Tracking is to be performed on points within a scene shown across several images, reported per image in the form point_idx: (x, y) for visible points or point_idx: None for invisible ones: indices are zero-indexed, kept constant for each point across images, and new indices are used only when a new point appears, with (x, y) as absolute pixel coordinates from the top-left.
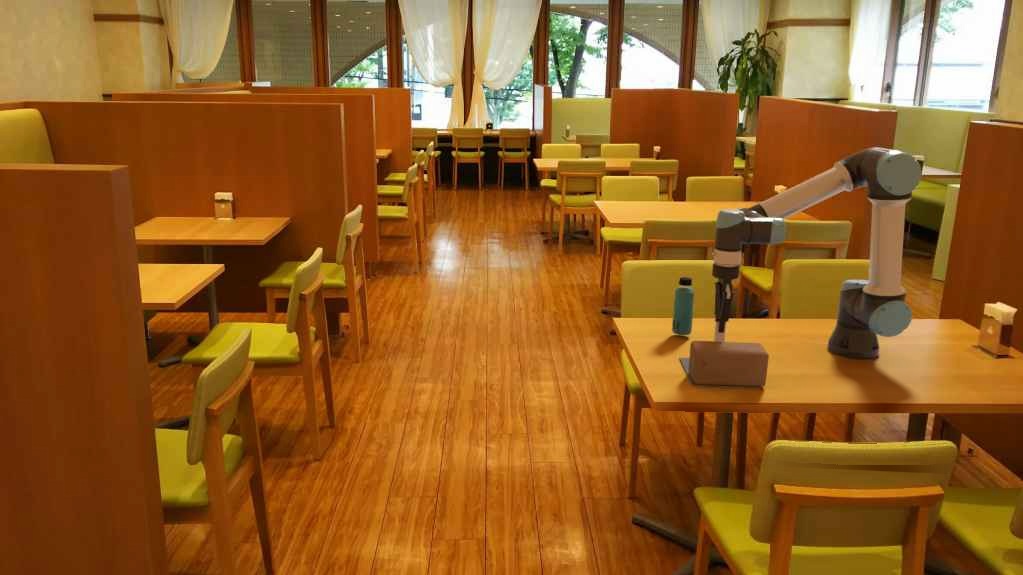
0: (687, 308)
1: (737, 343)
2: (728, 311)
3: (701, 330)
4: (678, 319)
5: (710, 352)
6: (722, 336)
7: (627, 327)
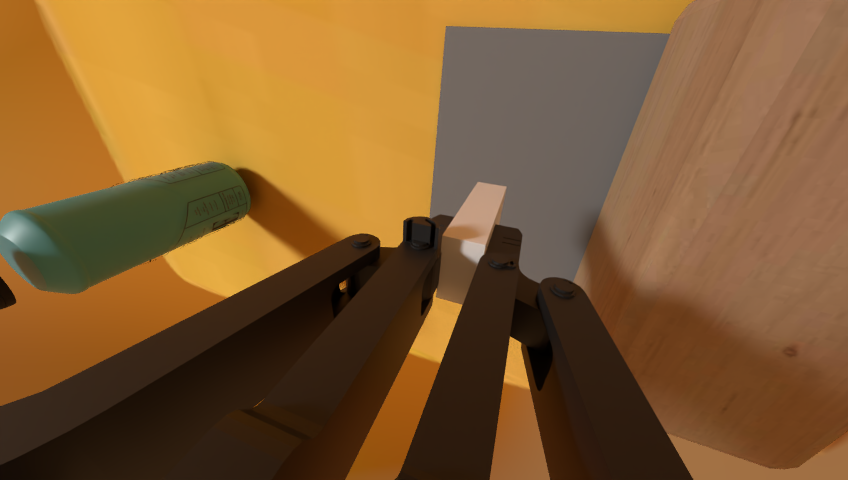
0: (150, 225)
1: (759, 202)
2: (639, 413)
3: (164, 99)
4: (205, 231)
5: (842, 430)
6: (499, 212)
7: (224, 289)
